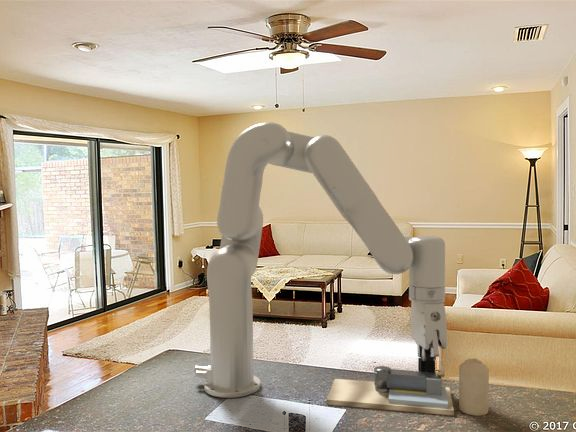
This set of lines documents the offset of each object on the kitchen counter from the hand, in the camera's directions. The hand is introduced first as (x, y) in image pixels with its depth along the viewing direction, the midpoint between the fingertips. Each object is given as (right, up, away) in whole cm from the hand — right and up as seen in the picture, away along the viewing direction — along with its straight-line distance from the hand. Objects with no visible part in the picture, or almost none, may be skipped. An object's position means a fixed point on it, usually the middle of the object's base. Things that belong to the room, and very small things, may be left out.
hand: (426, 376), depth 112 cm
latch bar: (-5, -1, -3) cm, 6 cm away
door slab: (-3, -2, -5) cm, 7 cm away
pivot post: (-10, -3, -2) cm, 11 cm away
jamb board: (-9, -3, -4) cm, 10 cm away
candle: (+7, -4, -10) cm, 13 cm away
